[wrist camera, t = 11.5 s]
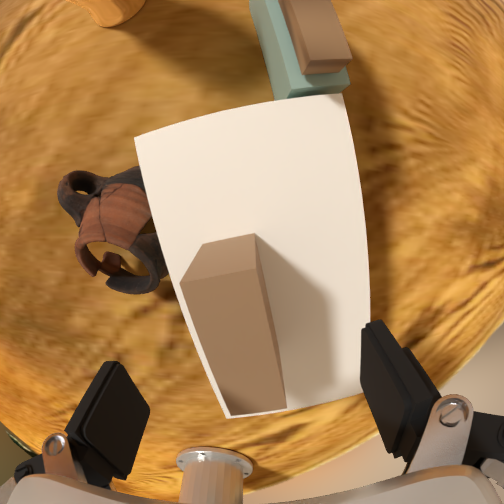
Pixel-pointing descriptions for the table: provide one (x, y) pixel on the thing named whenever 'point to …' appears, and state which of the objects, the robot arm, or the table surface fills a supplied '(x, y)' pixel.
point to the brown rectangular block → (316, 36)
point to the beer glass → (110, 10)
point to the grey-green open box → (288, 57)
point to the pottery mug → (114, 226)
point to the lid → (265, 248)
